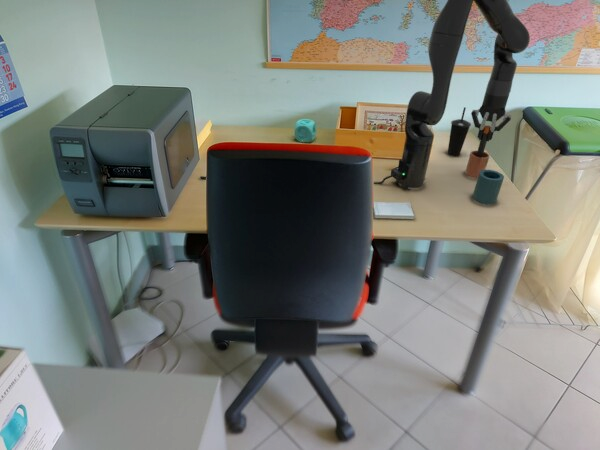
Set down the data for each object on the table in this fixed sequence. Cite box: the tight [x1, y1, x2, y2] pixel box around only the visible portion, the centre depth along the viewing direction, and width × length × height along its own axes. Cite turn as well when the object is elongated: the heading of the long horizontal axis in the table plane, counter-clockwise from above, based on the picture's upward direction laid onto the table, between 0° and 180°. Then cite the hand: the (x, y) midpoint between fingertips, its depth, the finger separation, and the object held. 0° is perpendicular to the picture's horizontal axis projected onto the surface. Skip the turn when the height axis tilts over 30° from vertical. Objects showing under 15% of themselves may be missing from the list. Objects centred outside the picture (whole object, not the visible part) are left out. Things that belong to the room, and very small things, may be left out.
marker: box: [476, 125, 491, 158], centre depth 149 cm, size 2×2×15 cm
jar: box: [472, 169, 505, 205], centre depth 137 cm, size 8×8×10 cm
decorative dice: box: [294, 118, 317, 143], centre depth 181 cm, size 8×8×8 cm
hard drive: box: [372, 201, 415, 220], centre depth 133 cm, size 2×8×12 cm
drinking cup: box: [447, 107, 472, 157], centre depth 166 cm, size 8×8×20 cm
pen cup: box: [464, 150, 490, 179], centre depth 153 cm, size 7×7×9 cm
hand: (484, 139), depth 147 cm, fingers closed on marker, 2 cm apart
